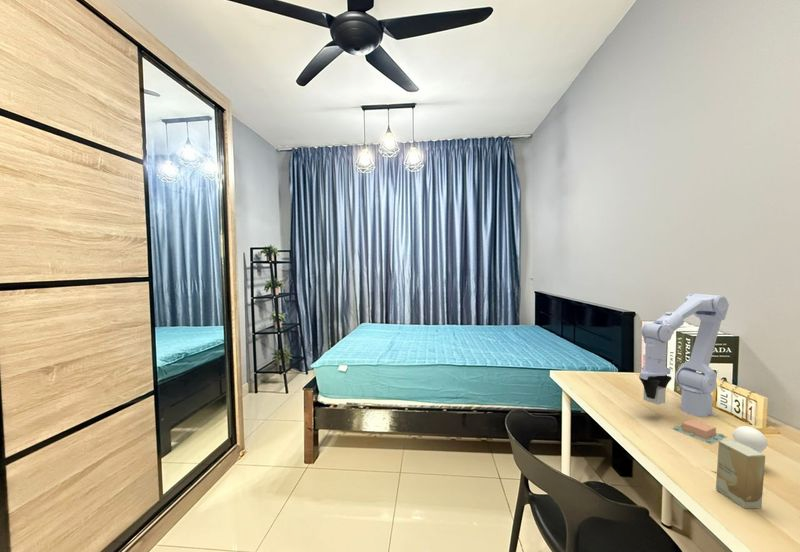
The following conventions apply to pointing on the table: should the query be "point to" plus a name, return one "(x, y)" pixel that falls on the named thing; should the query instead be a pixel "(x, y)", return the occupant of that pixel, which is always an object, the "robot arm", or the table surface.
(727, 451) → the skincare box
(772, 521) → the table surface
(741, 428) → the lightbulb
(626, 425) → the table surface
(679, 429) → the build plate
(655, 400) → the grey brick
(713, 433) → the base brick
